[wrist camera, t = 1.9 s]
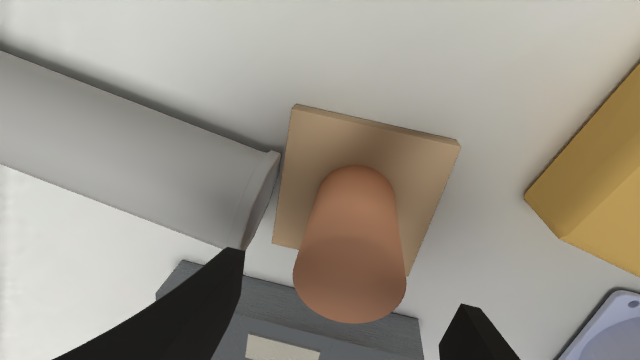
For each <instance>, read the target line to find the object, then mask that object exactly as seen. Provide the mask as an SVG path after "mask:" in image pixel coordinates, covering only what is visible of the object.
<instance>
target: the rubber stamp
mask: <svg viewBox="0 0 640 360" xmlns="http://www.w3.org/2000/svg"><path fill="white" fill-rule="evenodd" d="M524 200H525V201H526V202H527V203H528V204H529V205H530V207H531V208H532V209H533V210H534V211H535V212H536V213H537V215H538V216H539V217H540V218H541V219H542V220H543V221H544V223H545V224H546V225H547V226H548V227H549V228H550V229H551V231H552V232H553V233H554V234H555V235H556V236H557V237H558V238H559V239H561V240H563V241H565V242H567V243H569V244H571V245H573V246H576V247H578V248H580V249H582V250H584V251H586V252H588V253H590V254H592V255H594V256H596V257H598V258H601V259H603V260H605V261H607V262H609V263H611V264H613V265H615V266H617V267H619V268H621V269H623V270H625V271H628V272H630V273H632V274H634V275H636V276H638V277H640V63H639V65H638V66H637V67H636V68H635V69H634V70H633V71H632V73H631V74H630V75H629V76H628V77H627V78H626V79H625V81H624V82H623V83H622V84H621V85H620V86H619V87H618V88H617V90H616V91H615V92H614V93H613V94H612V95H611V96H610V98H609V99H608V100H607V101H606V102H605V103H604V104H603V106H602V107H601V108H600V109H599V110H598V111H597V112H596V114H595V115H594V116H593V117H592V118H591V119H590V120H589V121H588V123H587V124H586V125H585V126H584V127H583V128H582V129H581V131H580V132H579V133H578V134H577V135H576V136H575V137H574V139H573V140H572V141H571V142H570V143H569V144H568V145H567V147H566V148H565V149H564V150H563V151H562V152H561V153H560V154H559V156H558V157H557V158H556V159H555V160H554V161H553V162H552V164H551V165H550V166H549V167H548V168H547V169H546V170H545V172H544V173H543V174H542V175H541V176H540V177H539V178H538V180H537V181H536V182H535V183H534V184H533V185H532V186H531V187H530V189H529V190H528V191H527V192H526V193H525V195H524Z"/></svg>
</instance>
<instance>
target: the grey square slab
mask: <svg viewBox="0 0 640 360" xmlns="http://www.w3.org/2000/svg"><path fill="white" fill-rule="evenodd" d="M202 267H203V265H199V264H195V263H191V262H187V261H183V260H182V261H181V262H180V263H179V265H178V266H177V267H176V268H175V270H174V271H173V272H172V273H171V275H170V276H169V277H168V278H167V280H166V281H165V282H164V283H163V285H162V286H161V287H160V288H159V290H158V291H157V292H156V301H157V300H158V299H160V298H161V297H163V296H164V295H166V294H167V293H169V292H170V291H171V290H173V289H174V288H176V287H177V286H178V285H180V284H181V283H182V282H184V281H185V280H186V279H187V278H189V277H190V276H191V275H193V274H194V273H195V272H197V271H198V270H199V269H200V268H202ZM211 360H424V355H423V348H422V342H421V336H420V330H419V323H418V319H415V318H411V317H407V316H403V315H399V314H395V313H389V314H388V315H386V316H385V317H383V318H380V319H378V320H375V321H372V322H367V323H358V324H354V323H342V322H337V321H334V320H330V319H328V318H325V317H323V316H321V315H319V314H317V313H316V312H314V311H313V310H312V309H310V308H309V307H308V306H307V305H306V304H305V303H304V302H303V301H302V300H301V298H300V297H299V295H298V293H297V292H296V289H295V288H291V287H287V286H283V285H279V284H275V283H271V282H267V281H263V280H259V279H255V278H251V277H247V276H243V279H242V288H241V296H240V299H239V301H238V304H237V306H236V309H235V311H234V314H233V316H232V319H231V321H230V324H229V326H228V328H227V330H226V332H225V334H224V335H223V337H222V339H221V341H220V343H219V345H218V347H217V349H216V351H215V352H214V354H213V356H212V358H211Z"/></svg>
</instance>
